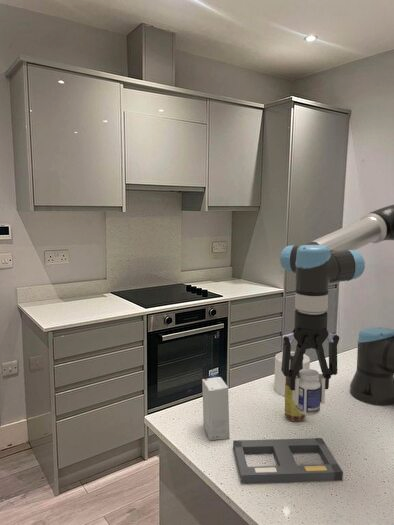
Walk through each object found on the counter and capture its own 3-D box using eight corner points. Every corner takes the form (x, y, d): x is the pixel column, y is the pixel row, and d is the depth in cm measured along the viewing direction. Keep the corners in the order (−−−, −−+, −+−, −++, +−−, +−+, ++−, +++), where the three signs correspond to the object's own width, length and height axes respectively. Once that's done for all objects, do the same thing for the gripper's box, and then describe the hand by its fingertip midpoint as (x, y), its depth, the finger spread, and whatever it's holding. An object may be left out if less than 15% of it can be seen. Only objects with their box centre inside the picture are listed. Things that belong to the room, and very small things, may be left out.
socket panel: (321, 445, 109) (321, 437, 109) (342, 480, 95) (342, 471, 95) (233, 448, 108) (233, 439, 108) (241, 483, 94) (241, 474, 94)
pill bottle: (321, 407, 101) (323, 369, 100) (317, 418, 96) (319, 378, 95) (298, 402, 104) (299, 365, 102) (293, 413, 99) (294, 374, 97)
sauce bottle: (305, 423, 120) (308, 359, 117) (284, 421, 121) (286, 358, 118) (304, 412, 126) (307, 351, 123) (284, 410, 128) (286, 350, 125)
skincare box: (229, 438, 112) (230, 388, 110) (208, 441, 111) (209, 390, 109) (221, 423, 120) (221, 375, 118) (201, 425, 119) (201, 377, 117)
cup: (294, 401, 134) (295, 366, 132) (267, 389, 143) (268, 356, 141) (315, 391, 141) (316, 358, 139) (288, 380, 150) (289, 348, 148)
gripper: (343, 305, 100) (339, 393, 104) (268, 306, 100) (267, 395, 103) (356, 313, 93) (351, 407, 96) (275, 315, 92) (273, 410, 96)
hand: (308, 401), depth 100 cm, fingers closed on pill bottle, 6 cm apart
